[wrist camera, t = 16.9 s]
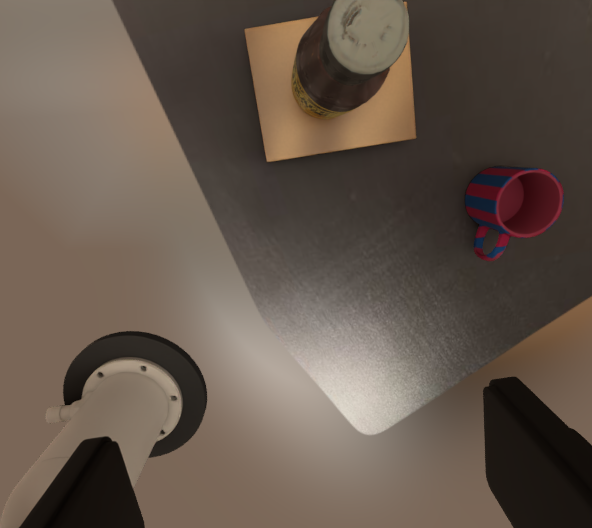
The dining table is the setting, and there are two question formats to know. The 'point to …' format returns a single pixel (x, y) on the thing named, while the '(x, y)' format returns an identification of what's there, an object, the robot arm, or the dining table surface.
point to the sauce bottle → (348, 55)
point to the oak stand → (312, 131)
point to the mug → (512, 204)
